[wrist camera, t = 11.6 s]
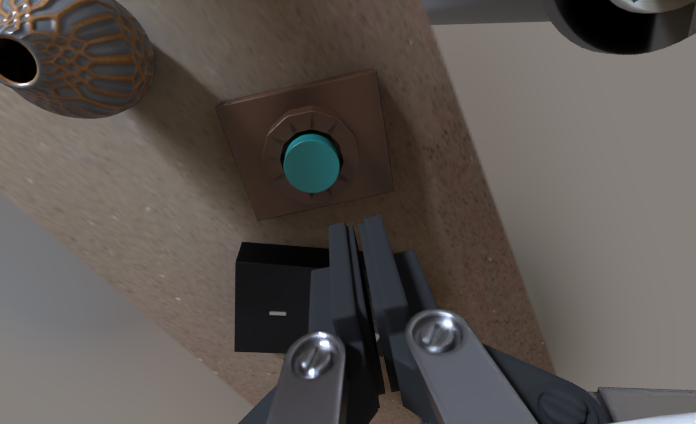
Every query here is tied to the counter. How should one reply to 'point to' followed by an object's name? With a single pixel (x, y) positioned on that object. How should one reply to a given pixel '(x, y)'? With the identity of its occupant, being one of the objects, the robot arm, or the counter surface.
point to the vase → (75, 56)
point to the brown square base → (302, 118)
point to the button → (311, 163)
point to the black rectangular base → (275, 295)
